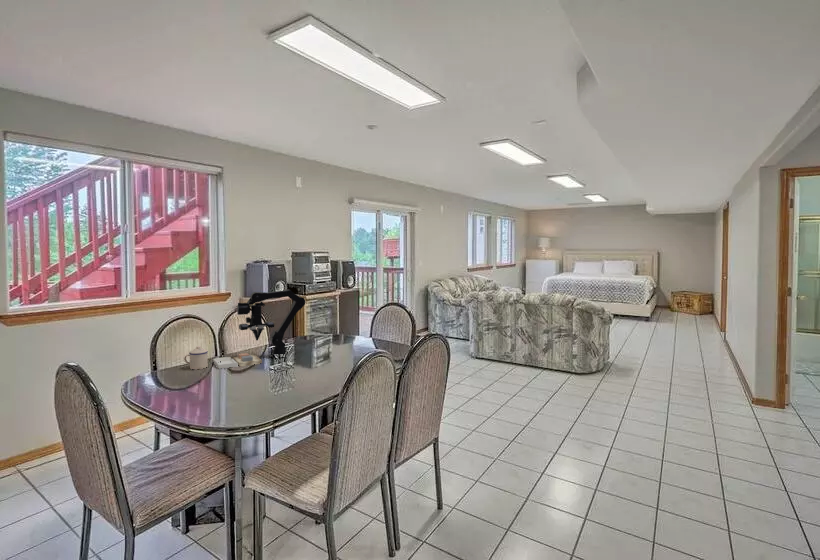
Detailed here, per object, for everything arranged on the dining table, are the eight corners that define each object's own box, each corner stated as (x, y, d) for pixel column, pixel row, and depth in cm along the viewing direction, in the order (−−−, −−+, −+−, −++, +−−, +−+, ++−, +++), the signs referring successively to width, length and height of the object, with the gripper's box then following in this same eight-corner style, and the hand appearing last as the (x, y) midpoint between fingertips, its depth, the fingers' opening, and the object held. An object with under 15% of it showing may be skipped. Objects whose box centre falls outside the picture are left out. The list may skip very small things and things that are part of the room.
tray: (232, 360, 249) (231, 356, 249) (238, 366, 236) (238, 362, 236) (213, 363, 244) (213, 358, 244) (218, 369, 231) (218, 364, 230)
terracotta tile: (247, 356, 252) (247, 352, 252) (249, 357, 248) (249, 354, 248) (238, 357, 249) (238, 353, 249) (240, 359, 245) (240, 355, 245)
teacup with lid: (210, 365, 239) (210, 344, 238) (204, 370, 230) (203, 348, 229) (188, 365, 238) (187, 344, 237) (180, 370, 228) (180, 348, 228)
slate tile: (250, 358, 246) (250, 355, 246) (252, 360, 242) (252, 357, 242) (241, 359, 243) (241, 356, 243) (243, 361, 239) (243, 358, 239)
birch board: (254, 357, 256) (254, 354, 256) (261, 363, 243) (261, 360, 243) (232, 360, 250) (232, 357, 250) (239, 366, 236) (239, 363, 236)
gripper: (268, 311, 263) (269, 336, 264) (236, 313, 253) (237, 339, 254) (274, 313, 254) (274, 339, 255) (240, 315, 244) (241, 343, 244)
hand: (257, 340), depth 252 cm, fingers closed
